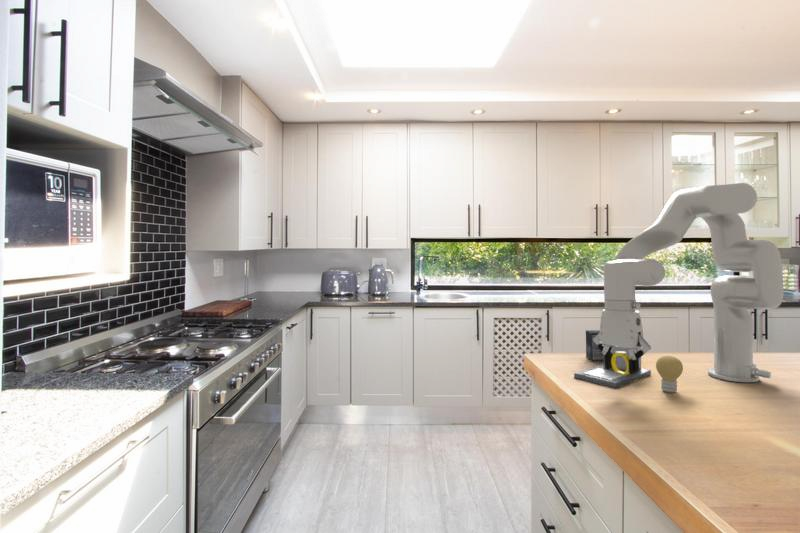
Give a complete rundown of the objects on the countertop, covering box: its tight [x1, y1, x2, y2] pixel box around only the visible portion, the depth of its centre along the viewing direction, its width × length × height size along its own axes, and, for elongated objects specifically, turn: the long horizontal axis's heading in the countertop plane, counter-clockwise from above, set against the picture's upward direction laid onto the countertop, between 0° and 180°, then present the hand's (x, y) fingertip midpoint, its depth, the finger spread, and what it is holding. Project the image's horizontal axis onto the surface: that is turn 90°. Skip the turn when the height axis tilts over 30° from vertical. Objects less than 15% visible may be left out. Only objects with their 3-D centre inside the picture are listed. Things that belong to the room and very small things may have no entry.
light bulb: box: [655, 355, 684, 394], centre depth 119 cm, size 6×6×10 cm
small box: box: [585, 329, 604, 362], centre depth 155 cm, size 11×6×10 cm, turn 84°
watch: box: [611, 351, 630, 375], centre depth 116 cm, size 6×3×6 cm, turn 17°
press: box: [573, 346, 652, 389], centre depth 134 cm, size 13×22×10 cm, turn 126°
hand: (621, 370), depth 116 cm, fingers closed on watch, 5 cm apart
